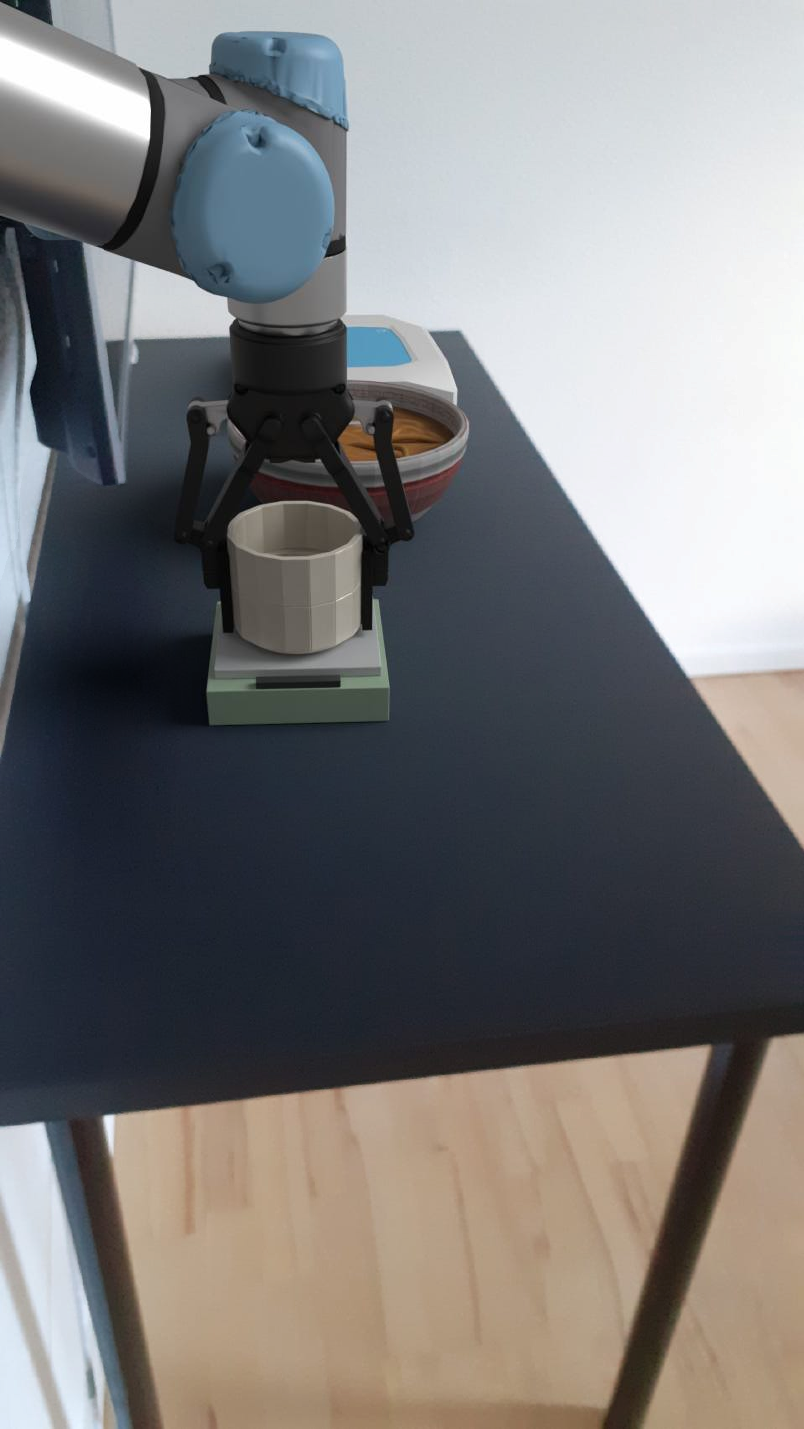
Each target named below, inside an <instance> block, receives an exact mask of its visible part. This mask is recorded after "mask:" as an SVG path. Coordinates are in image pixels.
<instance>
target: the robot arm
mask: <svg viewBox="0 0 804 1429" xmlns="http://www.w3.org/2000/svg"><path fill="white" fill-rule="evenodd" d="M344 67H345V66H344V58H343V54H342V51H341V49H340V47H339V46H338V44H337V43H336V42H335V41H334V40H333V39H331V38H329V37H328V36H325V35H323V34H317V33H311V32H309V33H308V32H299V31H297V32H295V31H274V30H273V31H272V30H270V31H269V30H268V31H267V30H246V31H245V30H244V31H236V32H235V31H225V32H222V33H219V34H218V35H216V36H215V38H214V40H213V41H212V43H211V52H210V64H209V65H208V73H206V74H199V75H197V76H189V77H186V78H177V77H176V78H175V77H173V78H172V77H171V78H168V77H165V76H163V75H161V74H158V73H155V72H152V71H149V70H147V69H144V68H142V67H140V66H138V65H137V64H136V63H135V62H133V61H132V60H129V59H126V58H124V57H122V56H120V55H118V54H115V53H114V52H111V51H109V50H107V49H104V48H102V47H101V46H98V45H96V44H94V43H91V42H89V41H87V40H85V39H83V38H81V37H78V36H76V35H74V34H72V33H69V32H67V31H65V30H63V29H60V28H59V27H56V26H54V25H52V24H49V23H47V22H45V21H43V20H41V19H38V18H37V17H34V16H32V15H30V14H27V13H26V12H24V11H21V10H19V9H16V8H14V7H12V6H10V5H7V4H6V3H3V2H1V1H0V216H1V217H4V218H7V219H11V220H12V221H15V222H18V223H19V222H20V223H22V224H23V225H24V226H25V227H26V229H27V230H28V231H29V232H30V233H31V234H32V235H33V236H35V237H37V238H38V239H41V240H45V241H78V242H80V243H84V244H87V245H90V246H92V247H96V248H98V249H101V250H103V251H105V252H107V253H110V254H113V255H117V256H119V257H122V258H125V259H129V260H132V261H134V262H138V263H140V264H143V265H147V266H149V267H153V268H156V269H158V270H163V271H165V272H167V273H171V274H174V275H177V276H180V277H182V278H184V279H188V280H190V281H192V282H194V284H195V285H196V286H197V287H198V288H199V289H201V290H202V291H204V292H207V293H208V294H210V295H211V294H212V295H213V296H219V297H223V298H226V301H227V302H226V303H227V312H228V313H229V315H231V316H232V317H234V320H233V321H232V322H231V324H230V325H229V327H228V330H229V347H230V363H231V380H232V389H231V392H230V394H229V396H228V398H227V399H225V400H224V399H223V400H211V401H207V400H206V399H205V398H203V397H201V396H194V397H192V398H191V399H190V400H189V403H188V408H187V412H186V419H185V420H186V424H187V429H188V436H189V440H190V445H189V450H188V455H187V461H186V467H185V472H184V477H183V482H182V487H181V492H180V497H179V503H178V506H177V507H178V508H177V512H176V516H175V523H174V528H173V534H172V538H173V540H174V541H175V542H176V543H177V544H178V545H185V544H190V545H193V546H194V547H197V549H198V550H199V551H200V555H201V566H202V578H203V584H204V586H205V588H206V589H207V590H219V598H220V600H219V601H220V602H221V613H222V625H223V633H233V631H234V626H233V615H232V601H231V587H230V574H229V560H228V548H227V536H224V535H225V533H226V532H227V528H228V525H229V523H230V521H232V520H233V519H234V518H233V517H234V515H235V514H236V512H237V510H238V508H239V506H240V505H241V502H242V501H243V499H244V497H245V495H246V493H247V491H248V489H249V488H250V487H249V485H250V484H251V482H252V480H253V478H254V476H255V475H256V474H257V473H258V471H259V469H260V467H261V465H262V463H263V462H264V460H265V459H266V460H270V463H284V462H288V461H291V460H294V461H298V462H302V463H315V460H318V459H320V460H321V462H322V463H323V465H324V467H325V468H326V470H327V472H328V473H329V474H330V475H331V476H332V477H333V479H334V481H335V482H336V484H337V486H338V487H339V489H340V491H341V492H342V494H343V496H344V497H345V499H346V501H347V503H348V504H349V506H350V508H351V509H352V511H353V513H354V514H355V516H356V518H357V519H358V521H359V523H360V524H361V526H362V528H363V529H364V531H365V533H366V534H367V535H363V550H362V631H363V630H372V613H373V599H374V587H386V585H387V583H388V581H389V551H390V550H391V546H392V545H393V544H395V543H397V542H400V541H403V542H410V541H412V539H414V538H415V528H414V521H413V522H412V518H411V514H410V510H409V506H408V502H407V498H406V494H405V490H404V486H403V482H402V479H401V475H400V471H399V467H398V463H397V459H396V455H395V451H394V447H393V443H392V432H393V423H394V414H393V409H392V404H391V401H390V399H388V398H387V397H384V396H382V397H379V398H377V399H376V400H375V401H363V400H353V398H352V396H351V394H350V392H349V390H348V387H347V327H346V325H345V324H344V323H343V321H342V320H341V319H340V318H341V317H342V316H343V315H346V313H347V311H348V246H347V166H348V165H347V163H348V162H347V158H348V157H347V154H348V152H347V151H348V150H347V149H348V145H347V144H348V141H347V140H348V134H347V133H348V132H350V122H349V120H348V106H347V83H346V78H345V68H344ZM227 419H230V421H231V422H232V423H233V425H234V426H235V427H236V428H237V429H238V431H239V432H240V433H241V434H242V436H243V437H244V438H245V439H246V441H245V443H244V445H243V447H242V450H241V453H240V455H239V457H238V459H237V461H235V463H234V465H233V467H232V468H231V470H230V473H229V474H228V477H227V478H226V480H225V482H224V484H223V486H222V489H221V490H220V492H219V494H218V496H217V498H216V499H215V501H214V503H213V505H212V507H211V509H210V511H209V514H208V515H207V517H206V519H205V521H203V522H202V521H200V520H196V519H195V518H196V513H197V508H198V503H199V499H200V492H201V489H202V483H203V478H204V473H205V468H206V464H207V458H208V453H209V449H210V448H209V447H210V442H211V437H214V436H217V435H218V434H219V433H220V432H221V426H222V424H223V422H224V421H227ZM352 419H357V420H359V421H360V422H361V424H362V429H363V431H364V433H365V434H367V435H371V436H373V440H374V446H375V451H376V455H377V459H378V463H379V467H380V470H381V474H382V478H383V481H384V485H385V489H386V493H387V496H388V500H389V504H390V508H391V511H392V515H393V518H391V519H388V520H385V521H384V520H383V518H382V516H381V514H380V513H379V511H378V509H377V508H376V506H375V504H374V502H373V501H372V499H371V497H370V495H369V494H368V492H367V490H366V489H365V487H364V485H363V483H362V482H361V480H360V478H359V477H358V475H357V473H356V471H355V470H354V468H353V466H352V465H351V463H350V461H349V459H348V458H347V456H346V454H345V452H344V449H343V447H342V445H341V443H340V442H339V440H338V438H339V437H340V435H341V434H342V433H343V431H344V430H345V429H346V427H347V426H348V425H349V423H350V422H351V421H352Z"/></svg>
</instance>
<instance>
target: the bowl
mask: <svg viewBox="0 0 804 1429" xmlns="http://www.w3.org/2000/svg"><path fill="white" fill-rule="evenodd" d="M347 387H348V390H349V392H350V394H351V396H352V398H353V400H363V401H375V400H376V399H377V398H379V397H382V396H384V397H387V398H388V399H390V401H391V404H392V409H393V414H394V423H393V432H392V443H393V447H394V451H395V455H396V459H397V463H398V467H399V471H400V475H401V479H402V482H403V486H404V490H405V494H406V498H407V502H408V506H409V510H410V514H411V518H412V522H413V523H414V522H415V521H417V520H418V519H420V518H422V517H423V516H424V515H425V514H426V513H427V512H428V511H429V510H430V509H431V508H432V507H433V506H434V505H435V504H436V503H437V502H438V501H439V500H441V498H443V496H444V494H445V492H447V490H448V489H449V487H450V485H451V484H452V482H453V481H454V480H455V477H456V475H457V474H458V471H459V469H460V466H461V464H462V462H463V456H464V455H465V453H466V451H467V445H468V440H469V433H470V421H469V419H468V418H467V416H466V414H465V412H464V411H463V410H461V408H459V407H458V405H457V406H456V405H455V404H453V403H451V402H450V401H448V400H446V399H444V398H443V397H440V396H438V395H435V394H432V393H430V392H427V391H424V390H420V389H416V388H413V387H409V386H403V385H398V384H392V383H386V382H377V381H365V380H347ZM226 429H227V436H228V441H229V448H230V450H231V451H232V454H233V458H234V461H235V462H236V461H237V459H238V457H239V455H240V453H241V450H242V447H243V445H244V443H245V441H246V439H245V438H244V437H243V436H242V434H241V433H240V432H239V431H238V429H237V428H236V427H235V426H234V425H233V423H232V422H231V421H230V419H227V420H226ZM338 440H339V442H340V443H341V445H342V447H343V449H344V452H345V454H346V456H347V458H348V459H349V461H350V463H351V465H352V466H353V468H354V470H355V471H356V473H357V475H358V477H359V478H360V480H361V482H362V483H363V485H364V487H365V489H366V490H367V492H368V494H369V495H370V497H371V499H372V501H373V502H374V504H375V506H376V508H377V509H378V511H379V513H380V514H381V516H382V518H383V520H384V521H385V520H388V519H391V518H393V515H392V511H391V508H390V504H389V500H388V496H387V493H386V489H385V485H384V481H383V478H382V474H381V470H380V467H379V463H378V459H377V455H376V451H375V446H374V440H373V436H371V435H367V434H365V433H364V431H363V429H362V424H361V422H360V421H359V420H357V419H352V421H351V422H350V423H349V425H348V426H347V427H346V429H345V430H344V431H343V433H342V434H341V435H340V437H339V438H338ZM248 488H250V490H251V491H252V493H253V494H254V496H255V497H256V498H257V499H258V500H259V501H260V502H261V503H262V505H263V504H269V503H274V502H280V501H311V502H318V503H324V504H330V505H333V506H336V507H338V508H341V509H343V510H346V511H348V512H350V513H352V514H353V515H354V516H355V514H354V513H353V511H352V509H351V508H350V506H349V504H348V503H347V501H346V499H345V497H344V496H343V494H342V492H341V491H340V489H339V487H338V486H337V484H336V482H335V481H334V479H333V477H332V476H331V475H330V474H329V473H328V472H327V470H326V468H325V467H324V465H323V463H322V462H321V460H320V459H318V460H315V463H302V462H298V461H294V460H291V461H288V462H284V463H270V460H266V459H265V460H264V462H263V463H262V465H261V467H260V469H259V471H258V473H257V474H256V475H255V476H254V478H253V480H252V482H251V484H250V485H249V487H248ZM355 517H356V516H355ZM362 532H363V535H367V534H366V533H365V531H364V529H363V528H362Z"/></svg>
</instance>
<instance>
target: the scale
mask: <svg viewBox="0 0 804 1429" xmlns="http://www.w3.org/2000/svg"><path fill="white" fill-rule="evenodd" d="M380 610H381V609H380V602H379V599H378V598H373V613H372V630H363V631H362V624H361V626H360V627H359V628H358V630H357V631H356V633H355V634H354V636H352V637H350V638H348V639H346V640H345V641H343V642H341V643H340V644H338V645H336V646H334V647H332V648H329V649H326V650H323V651H319V652H314V653H307V654H286V653H278V652H274V651H270V650H267V649H264V648H261V647H259V646H257V645H255V644H253V643H251V642H249V641H247V640H246V639H244V638H242V637H241V636H240V634H239V633H238V631H237V630H236V629H235V627H234V631H233V633H223V625H222V613H221V601H217V602H216V607H215V613H214V614H215V615H214V624H213V632H212V638H211V639H212V640H211V648H210V656H209V665H208V675H207V681H206V689H205V693H206V703H207V714H208V715H207V716H208V725H209V726H237V725H238V726H241V725H242V726H243V725H244V726H245V725H277V724H278V725H279V724H280V725H281V724H283V725H284V724H321V723H322V724H323V723H324V724H325V723H326V724H327V723H361V722H362V723H364V722H365V723H366V722H389V720H390V694H391V693H390V689H391V688H390V687H391V686H390V680H389V671H388V664H387V657H386V648H385V641H384V634H383V633H384V632H383V624H382V617H381V611H380Z"/></svg>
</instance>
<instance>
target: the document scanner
mask: <svg viewBox="0 0 804 1429" xmlns="http://www.w3.org/2000/svg"><path fill="white" fill-rule="evenodd" d="M340 319H341V320H342V321H343V323H344V324H345V325H346V327H347V380H365V381H377V382H386V383H392V384H398V385H403V386H409V387H413V388H416V389H420V390H424V391H427V392H430V393H432V394H435V395H438V396H440V397H443V398H444V399H446V400H448V401H450V402H451V403H453V404H455V405H456V406H457V407H458V387H457V385H456V382H455V379H454V376H453V372H452V370H451V366H450V364H449V362H448V359H447V358H446V357H445V355H444V354H443V352H442V350H441V349H440V347H439V346H438V345H437V343H436V341H435V339H434V338H433V337H432V335H431V334H430V332H429V331H428V329H427V328H425V327H423V326H420V325H417V324H413V323H410V322H407V321H403V320H401V319H397V318H395V317H390V316H389V315H385V314H344V315H343V316H342V317H341V318H340Z"/></svg>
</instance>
